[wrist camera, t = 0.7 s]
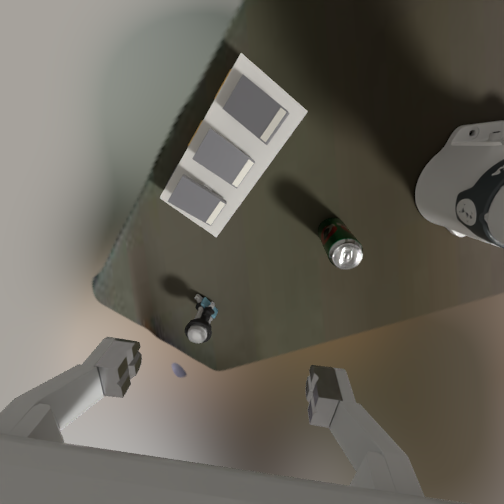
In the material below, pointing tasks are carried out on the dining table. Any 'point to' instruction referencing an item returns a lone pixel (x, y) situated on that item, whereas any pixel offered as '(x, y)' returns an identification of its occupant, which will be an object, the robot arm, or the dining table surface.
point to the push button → (201, 321)
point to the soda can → (340, 244)
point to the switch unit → (235, 143)
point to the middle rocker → (223, 158)
